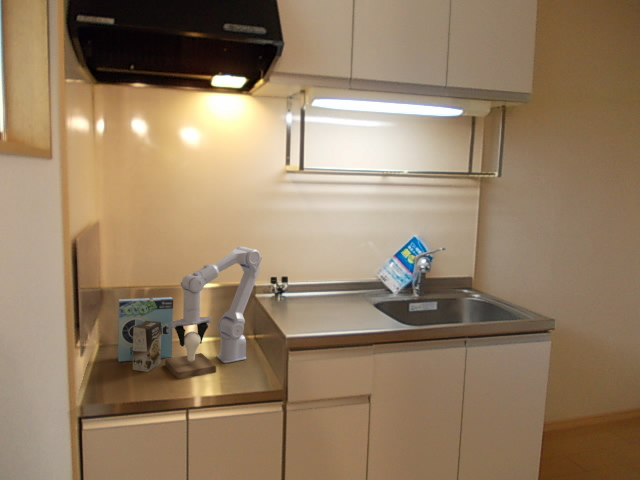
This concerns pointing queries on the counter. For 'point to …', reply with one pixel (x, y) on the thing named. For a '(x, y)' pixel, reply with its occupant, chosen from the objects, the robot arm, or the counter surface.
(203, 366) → the walnut base
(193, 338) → the lightbulb
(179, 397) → the counter surface
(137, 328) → the coffee box
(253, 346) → the counter surface
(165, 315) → the light blue product box
